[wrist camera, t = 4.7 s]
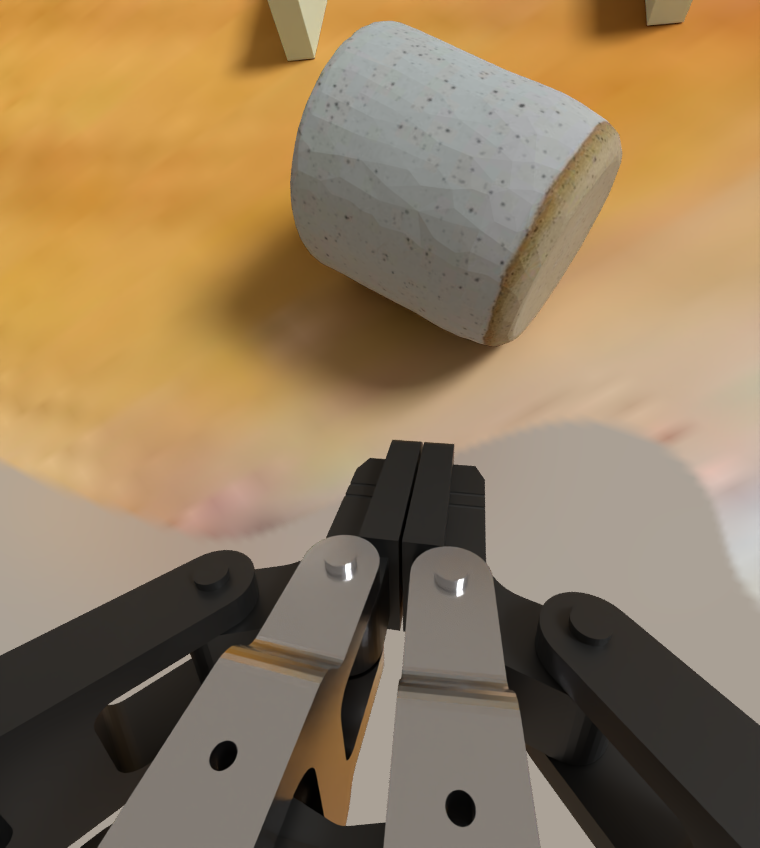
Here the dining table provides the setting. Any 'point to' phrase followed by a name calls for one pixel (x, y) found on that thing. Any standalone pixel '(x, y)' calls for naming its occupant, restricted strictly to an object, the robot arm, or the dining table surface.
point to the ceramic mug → (447, 180)
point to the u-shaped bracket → (305, 3)
